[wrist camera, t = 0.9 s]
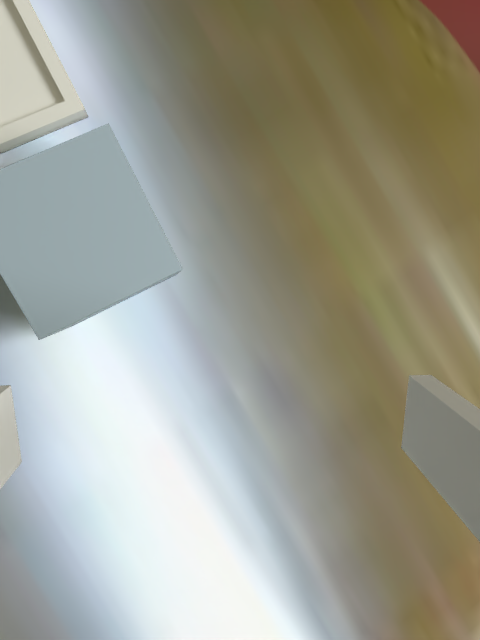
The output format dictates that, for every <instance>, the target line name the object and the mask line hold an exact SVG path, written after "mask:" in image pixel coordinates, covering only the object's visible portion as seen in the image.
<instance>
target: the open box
mask: <svg viewBox="0 0 480 640" xmlns="http://www.w3.org/2000/svg"><path fill="white" fill-rule="evenodd" d="M181 270H183V268H182V267H181V265H180V263H179V261H178V259H177V257H176V255H175V253H174V251H173V249H172V247H171V245H170V243H169V241H168V239H167V237H166V235H165V233H164V231H163V229H162V227H161V225H160V223H159V221H158V219H157V217H156V215H155V213H154V211H153V210H152V208H151V206H150V204H149V202H148V200H147V198H146V196H145V194H144V192H143V190H142V188H141V186H140V184H139V182H138V180H137V178H136V176H135V174H134V172H133V170H132V168H131V166H130V164H129V162H128V160H127V158H126V156H125V154H124V153H123V151H122V149H121V147H120V145H119V143H118V141H117V139H116V137H115V135H114V133H113V131H112V129H111V127H110V125H109V123H108V124H106V125H104V126H101V127H99V128H97V129H94V130H92V131H90V132H87V133H85V134H82V135H80V136H78V137H75V138H73V139H71V140H68V141H66V142H64V143H61V144H59V145H56V146H54V147H52V148H49V149H47V150H45V151H42V152H40V153H38V154H35V155H33V156H31V157H28V158H26V159H23V160H21V161H19V162H16V163H14V164H12V165H9V166H7V167H5V168H2V169H0V274H1V276H2V278H3V279H4V281H5V283H6V284H7V286H8V288H9V290H10V291H11V293H12V295H13V296H14V298H15V300H16V301H17V303H18V305H19V307H20V308H21V310H22V312H23V313H24V315H25V317H26V319H27V320H28V322H29V324H30V325H31V327H32V329H33V330H34V332H35V334H36V336H37V337H38V339H39V340H40V339H43V338H45V337H47V336H50V335H52V334H54V333H57V332H59V331H62V330H64V329H66V328H69V327H71V326H73V325H75V324H77V323H79V322H82V321H84V320H86V319H88V318H90V317H92V316H94V315H96V314H98V313H100V312H102V311H104V310H106V309H108V308H110V307H112V306H114V305H116V304H118V303H120V302H122V301H124V300H126V299H128V298H130V297H132V296H134V295H136V294H138V293H140V292H142V291H144V290H146V289H148V288H150V287H153V286H155V285H157V284H159V283H161V282H163V281H165V280H167V279H169V278H171V277H173V276H175V275H177V274H178V273H179V272H180V271H181Z"/></svg>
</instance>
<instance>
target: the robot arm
mask: <svg viewBox="0 0 480 640" xmlns="http://www.w3.org/2000/svg"><path fill="white" fill-rule="evenodd" d="M401 448H402V449H403V450H404V452H405V453H406V454H407V455H408V456H409V458H410V459H411V460H412V461H413V462H414V464H415V465H416V466H417V467H418V468H419V470H420V471H421V472H422V473H423V474H424V476H425V477H426V478H427V479H428V480H429V482H430V483H431V484H432V485H433V486H434V488H435V489H436V490H437V491H438V492H439V494H440V495H441V496H442V497H443V498H444V500H445V501H446V502H447V503H448V504H449V506H450V507H451V508H452V509H453V510H454V512H455V513H456V514H457V515H458V516H459V518H460V519H461V520H462V521H463V522H464V524H465V525H466V526H467V527H468V528H469V530H470V531H471V532H472V533H473V534H474V536H475V537H476V538H477V539H478V540H479V542H480V409H478V408H477V407H476V406H474V405H473V404H471V403H470V402H469V401H467V400H466V399H464V398H463V397H461V396H460V395H459V394H457V393H456V392H454V391H453V390H452V389H450V388H449V387H447V386H446V385H444V384H443V383H442V382H440V381H439V380H437V379H436V378H435V377H433V376H432V375H411V376H409V383H408V392H407V401H406V410H405V419H404V429H403V438H402V447H401ZM21 462H22V460H21V453H20V446H19V439H18V432H17V425H16V418H15V412H14V405H13V398H12V391H11V385H6V386H0V489H1V488H2V487H3V485H4V484H5V483H6V481H7V480H8V479H9V478H10V476H11V475H12V474H13V472H14V471H15V470H16V469H17V467H18V466H19V465H20V464H21Z"/></svg>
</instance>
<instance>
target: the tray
mask: <svg viewBox="0 0 480 640" xmlns="http://www.w3.org/2000/svg"><path fill="white" fill-rule="evenodd" d="M87 117H88V115H87V113H86V110H85V108H84V106H83V104H82V102H81V100H80V98H79V96H78V94H77V93H76V91H75V89H74V87H73V85H72V83H71V81H70V79H69V77H68V75H67V73H66V71H65V69H64V67H63V65H62V63H61V61H60V60H59V58H58V56H57V54H56V52H55V50H54V48H53V46H52V44H51V42H50V40H49V38H48V36H47V34H46V32H45V30H44V28H43V27H42V25H41V23H40V21H39V19H38V17H37V15H36V13H35V11H34V9H33V7H32V5H31V3H30V1H29V0H0V154H1V153H3V152H6V151H8V150H11V149H13V148H15V147H18V146H20V145H23V144H25V143H27V142H30V141H32V140H35V139H37V138H39V137H42V136H44V135H47V134H49V133H51V132H54V131H56V130H59V129H61V128H63V127H66V126H68V125H70V124H73V123H75V122H78V121H80V120H82V119H85V118H87Z"/></svg>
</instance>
